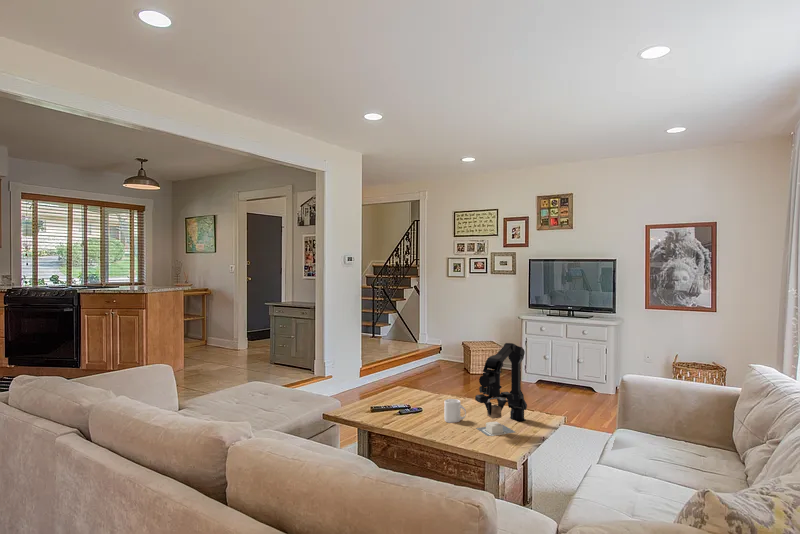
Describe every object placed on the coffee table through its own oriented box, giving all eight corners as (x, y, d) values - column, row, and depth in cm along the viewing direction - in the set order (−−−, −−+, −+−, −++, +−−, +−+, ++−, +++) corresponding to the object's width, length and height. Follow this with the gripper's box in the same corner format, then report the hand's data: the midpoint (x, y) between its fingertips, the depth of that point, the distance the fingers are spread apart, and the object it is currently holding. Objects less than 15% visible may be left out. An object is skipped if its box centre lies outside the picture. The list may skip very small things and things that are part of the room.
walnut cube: (495, 414, 239) (495, 404, 239) (501, 417, 234) (501, 407, 234) (487, 415, 237) (487, 405, 237) (492, 418, 232) (492, 408, 232)
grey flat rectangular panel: (502, 425, 246) (502, 424, 246) (516, 433, 234) (516, 432, 234) (475, 429, 241) (475, 427, 241) (488, 437, 229) (488, 435, 229)
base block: (496, 429, 239) (496, 421, 239) (502, 433, 233) (502, 425, 233) (485, 430, 237) (485, 422, 237) (492, 434, 231) (492, 426, 231)
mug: (462, 425, 247) (462, 405, 247) (441, 421, 253) (441, 401, 253) (468, 421, 254) (468, 401, 254) (448, 417, 260) (448, 398, 260)
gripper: (501, 378, 246) (501, 408, 246) (469, 381, 240) (469, 412, 240) (513, 383, 236) (513, 414, 236) (480, 386, 229) (480, 418, 229)
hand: (494, 414), depth 235 cm, fingers closed on walnut cube, 5 cm apart
